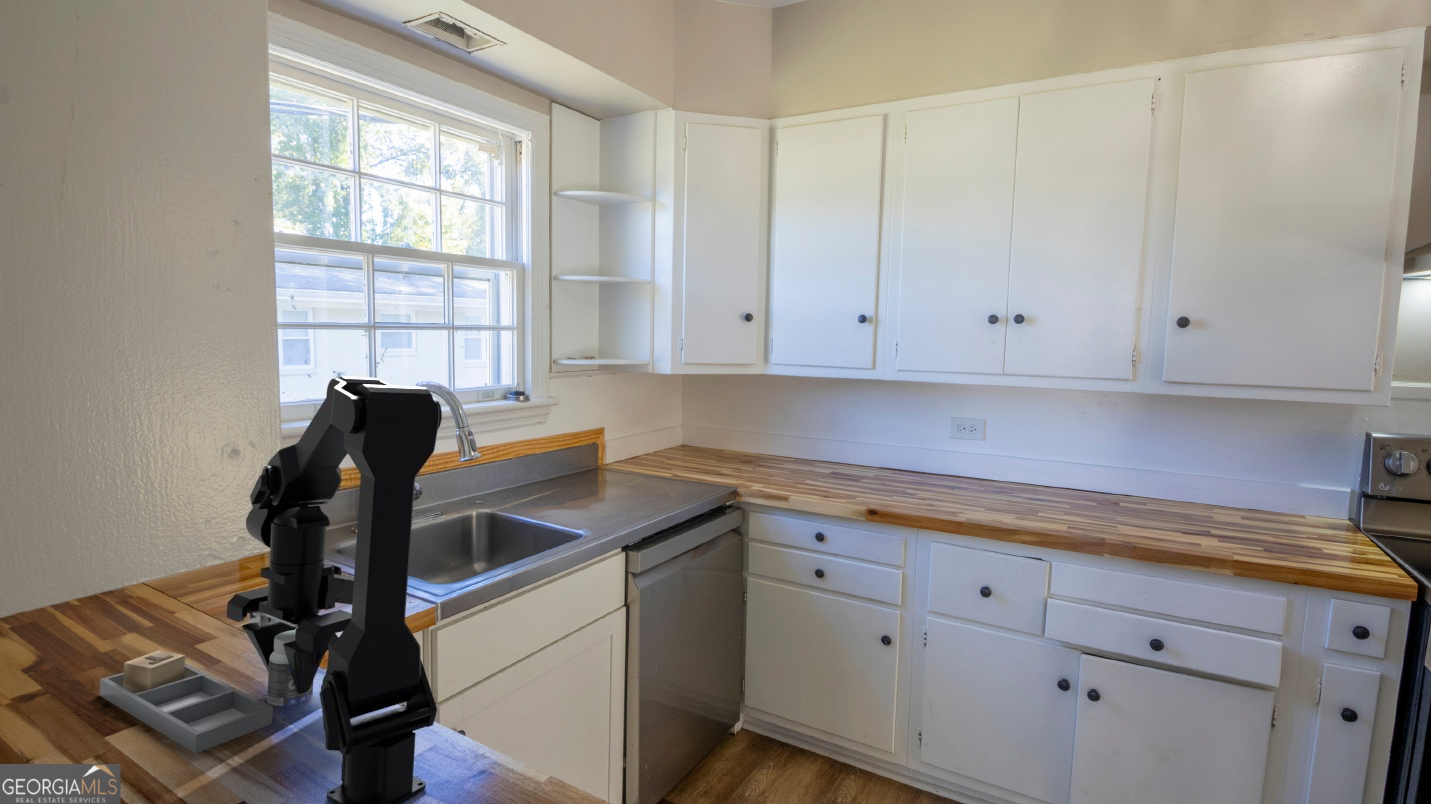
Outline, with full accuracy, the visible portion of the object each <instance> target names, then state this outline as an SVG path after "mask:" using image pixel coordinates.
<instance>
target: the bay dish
mask: <svg viewBox="0 0 1431 804" xmlns="http://www.w3.org/2000/svg"><path fill="white" fill-rule="evenodd" d="M123 680H124V672H120V673H117V674H114V675H110V676H106V677H103V678H100V681H99V696H100V697H101V698H103V699H105V700H106V701H108V702H110V703H112V704H113V705H114V706H116V707H118V708H119V709H121V710H122V711H125V712H126V713H128V714H130V715H131V716H132V717H134V718H136V719H138V720H139V721H141V722H142V723H144V724H145V725H147V726H149V727H151V728H152V729H154V730H155V731H157V732H158V733H160V734H162V735H163V736H165V737H167V738H168V739H170V740H172V741H174V742H176V743H177V744H178V745H180V746H182V747H184V748H185V749H187V750H188V751H190V752H192V753H193V754H194V755H196V754H199V753H201V752H204V751H206V750H210V749H211V748H215V747H216V746H219V745H222V744H224V743H227V742H230V741H232V740H234V739H237V738H240V737H242V736H244V735H248V734H250V733H252V732H256V731H257V730H260V729H263V728H265V727H268V726H270V725H273V716H274V715H273V713H274V712H273V711H274V706H273V705H271V704H269V703H266V702H264V701H262V700H260V699H258V698H256V697H254V696H252V695H250V694H248V693H246V692H245V691H244V692H243V691H242V690H240V689H238V688H236V687H235V686H231V685H230V684H228V683H225V682H224V681H221V680H220V679H218V678H216V677H213V676H212V675H209V674H208V673H206V672H203V671H201V670H200V669H197V668H195V667H193V666H192V665H190V664H187V663H186V662H185V670H184V679H182V680H179V681H176V682H172V683H169V684H166V685H162V686H159V687H156V688H152V689H149V690H146V691H142V692H139V693H136V694H133V693H132V692H130V691H128V690H126V689H125V688H123Z"/></svg>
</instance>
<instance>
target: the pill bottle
mask: <svg viewBox="0 0 1431 804" xmlns="http://www.w3.org/2000/svg"><path fill="white" fill-rule="evenodd" d="M295 632H296V629H295V630H291V631H286V632H283V633H280V634H278V635H276V636H275V638H274V650H275V651H274V652H272V654H271V655H270V659H269V673H268V678H267V680H268V681H267V694H266V696H267V697H266V702H267V704H268V705H270V706H278V707H280V706H281V707H283V706H284V707H285V706H293V705H296V704H300V703H303V702H305V701H307V700H308V699H310V698H312V696H313V695H314V681H313V682H312V684H311V687H310V689H309V691H308V692H306V693H303V694H299V693H298V692H297V689H296V687H295V684H294V681H293V677H292V674H291V670H290V667H289V663H288V660H287V656H286V653H285V649H284V646H283V644H284V643H288V642H291V641H295Z"/></svg>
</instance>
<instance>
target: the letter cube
mask: <svg viewBox="0 0 1431 804" xmlns="http://www.w3.org/2000/svg"><path fill="white" fill-rule="evenodd" d="M123 663H124V664H123V673H124V680H123V688H125V689H126V690H128V691H130V692H132V693H133V694H136V693H139V692H142V691H146V690H149V689H152V688H156V687H159V686H162V685H166V684H169V683H172V682H176V681H179V680H182V679H184V670H185V663H186V655H185V654H179V653H175V652H170V651H164V650H161V649H158V650H156V651H154V652H150V653H148V654H144V655H142V656H139V657H136V658H134V659H131V660H128V661H126V662H123Z"/></svg>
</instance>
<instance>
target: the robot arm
mask: <svg viewBox="0 0 1431 804" xmlns="http://www.w3.org/2000/svg"><path fill="white" fill-rule="evenodd" d="M325 395H326V397H325V398H324V400H323V402H322V403H321V405H320V407H319V409H318V410H317V412H316V413H315V414H314V416H313V417H312V420H311V421H310V423H309V424H308V425H307V428H306V429H305V431H304V432H303V433H302V436H301V437H300V439H299V440H298V442H296V443H294V444H291V445H289V446H286V447H282V448H280V449H279V450H277V451H276V453H275V454H274V455H273V456H272V457H271V458H270V459H269V460H268V463H267V465H265V466H263V468H262V471H261V474H260V475H259V476H258V477H257V480H256V482H255V484H254V486H253V489H252V491H251V493H250V495H249V499H250V503H251V507H252V508H251V510H250V511H249V512H248V515H247V517H246V518H245V526H246V527H245V528H246V531H247V532H248V533H249V535H250V536H251V537H253V539H255V540H257V541H258V542H260V543H262V545H264V546H266V547H268V548H269V564H268V565H269V566H266V567H261V568H260V578H263V579H265V580H268V582H267V586H265V587H261V588H256V589H252V590H246V591H243V592H237V593H235V594H234V595H233V596H232V597H231V598H230V599H229V600H228V602H227V603H226V618H227V619H229V620H232V621H234V622H236V623H239V622H243V621H244V620H246V618H247V617H249V618H248V623H245V624H243V625H242V626H241V629H242V631H244V632H245V633H246V635H247V637H248V639H249V641H250V642H251V644H252V645H253V647H254V649H255V651H256V652H257V653H258V656H259V658H260V659H261V661H262V663H263V665H264V667H265V668H266V670H267V672H268V673H269V659H270V655H271V654H272V652H274V651H275V650H274V638H275V636H276V635H278V634H280V633H283V632H286V631H291V630H296V632H295V641H291V642H288V643H284V644H283V646H284V649H285V653H286V656H287V660H288V663H289V667H290V670H291V674H292V677H293V681H294V684H295V687H296V689H297V692H298V693H299V694H303V693H306V692H308V691H309V689H310V687H311V684H312V682H313V683H314V679H315V677H316V675H317V672H318V670H319V667H320V665H321V663H322V661H323V659H324V656H325V655H326V653H327V651H328V656H327V657H328V659H327V666H326V670H325V675H324V676H323V678H322V682H321V683H322V684H321V686H320V691H319V700H320V705H321V711H322V712H321V713H322V721H323V722H322V725H323V727H322V728H323V731H324V735H325V742H324V743H325V746H324V748H325V749H326V750H327V751H333V752H339V753H340V754H342V756H341V758H342V760H341V777H340V781H341V784H340V785H338V786H335V787H333V788H332V789H329V790H328V791H327V792H326V796H325V797H326V800H328V801H329V802H331V803H333V804H401V803H403V802H405V801H407V800H409V799H410V798H411V797H413V796H415V795H417V794H419V793H420V792H422V791H424V790H426V781H424V780H422V779H421V778H419V777H416V776H414V767H415V766H414V765H415V750H416V732H415V731H418V730H421V729H423V728H430V727H432V726H433V725H434V723H435V719H436V715H437V712H438V708H437V705H436V704H437V703H436V702H435V697H434V696H433V692H432V689H431V687H430V682H429V680H428V676H427V674H426V670H425V667H424V664H423V661H422V658H421V655H422V653H421V650H422V649H421V648H422V647H421V645H420V643H419V641H418V639H416V637H415V635H414V633H413V632H412V631H411V629H410V628H409V626H408V624H407V622H406V613H407V612H406V610H407V596H408V584H409V568H410V553H411V543H412V542H411V541H412V529H413V528H412V526H413V525H412V523H413V510H414V497H415V495H414V494H415V483H416V477H417V476H418V474H420V472H421V470H422V469H423V467H424V466H425V465H426V463H427V461H428V460H429V459H430V457H431V456H432V455H433V454H434V452H435V450H436V443H437V437H438V430H439V429H440V426H441V424H442V418H443V417H442V416H443V411H442V406H441V404H440V402H439V400H438V399H436V398H435V397H433V394H432V392H431V391H430V390H429V389H428V388H426V387H425V386H424V387H423V386H411V385H410V386H409V385H408V386H404V385H394V384H390V383H388V382H386V381H384V380H380V379H378V378H376V377H362V376H361V377H360V376H359V377H358V376H338V377H337V378H331V379H330V380H329V382H328V384H327V388H326V394H325ZM347 455H348V456H349V457H350V459H351V461H352V463H353V464H354V466H355V467H356V468H357V470H358V472H359V474H360V484H359V494H358V495H359V498H358V510H357V511H358V513H357V527H356V541H355V543H356V544H355V557H354V571H353V573H354V575H353V576H349V575H345V574H343V573H342V567H341V566H338V565H334V564H329V563H326V544H327V529H328V528H327V527H330V525H331V521H330V518H329V517H328V515H327V514H325V513H324V512H323V511H322V509H321V508H322V507H321V506H323V505H328V503H329V502H330V501H331V500H333V498H334V497H335V496H336V493H337V492H338V491H339V490H340V488H341V484H342V481H343V479H342V471H341V467H340V465H341V463H342V462H343V461H344V459H345V458H346V457H347ZM320 505H321V506H320ZM336 603H337V604H345V605H351V612H348V611H345V610H342V609H337V610H334V611H331V612H327V613H323V614H320V611H322V610H324V611H328V610H331V609H335V608H336ZM248 614H249V616H248ZM404 703H406V705H402V706H399V707H397V708H393V709H389V710H385V711H383V712H380V713H376V714H374V715H370V716H367V717H363V718H361V719H358V720H355V721H351V719H354V718H357V717H362V716H364V715H367V714H370V713H374V712H378V711H380V710H384V709H387V708H391V707H393V706H397V705H401V704H404Z"/></svg>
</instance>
